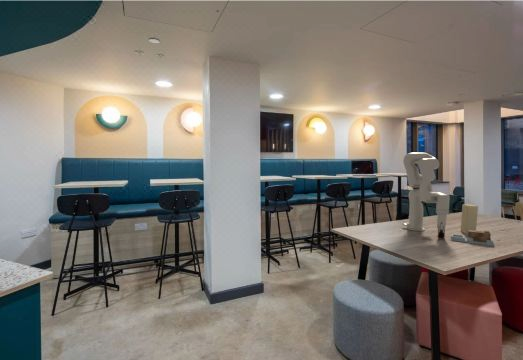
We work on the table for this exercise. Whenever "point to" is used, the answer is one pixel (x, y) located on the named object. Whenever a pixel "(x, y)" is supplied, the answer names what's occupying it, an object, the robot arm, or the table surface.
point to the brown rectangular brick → (444, 233)
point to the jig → (470, 240)
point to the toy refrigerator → (468, 217)
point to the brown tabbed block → (479, 235)
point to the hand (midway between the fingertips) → (441, 237)
